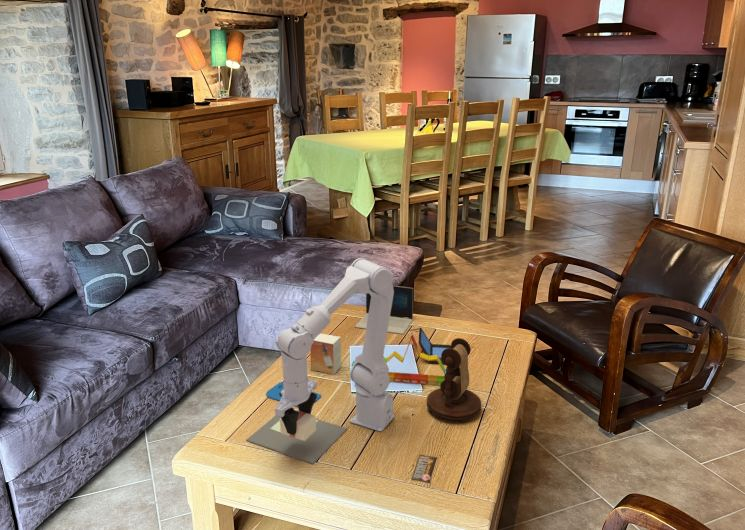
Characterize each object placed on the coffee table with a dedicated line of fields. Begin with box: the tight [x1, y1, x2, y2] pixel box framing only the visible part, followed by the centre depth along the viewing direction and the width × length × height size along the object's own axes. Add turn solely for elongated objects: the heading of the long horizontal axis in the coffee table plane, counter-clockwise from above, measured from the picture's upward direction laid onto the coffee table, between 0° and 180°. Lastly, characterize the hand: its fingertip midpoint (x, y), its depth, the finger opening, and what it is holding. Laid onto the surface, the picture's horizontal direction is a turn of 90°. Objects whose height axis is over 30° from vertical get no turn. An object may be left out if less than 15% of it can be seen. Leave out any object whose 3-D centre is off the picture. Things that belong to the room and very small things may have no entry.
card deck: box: [280, 408, 317, 441], centre depth 148 cm, size 7×5×4 cm
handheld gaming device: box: [265, 381, 322, 409], centre depth 174 cm, size 8×1×15 cm
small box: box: [309, 332, 342, 375], centre depth 187 cm, size 8×6×10 cm
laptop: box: [354, 285, 414, 335], centre depth 217 cm, size 18×12×13 cm
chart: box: [351, 333, 447, 387], centre depth 179 cm, size 30×3×15 cm, turn 81°
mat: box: [245, 415, 348, 465], centre depth 156 cm, size 20×16×1 cm
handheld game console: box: [418, 327, 451, 365], centre depth 196 cm, size 12×11×7 cm
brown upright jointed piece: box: [426, 337, 482, 424], centre depth 164 cm, size 15×15×20 cm
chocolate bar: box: [410, 454, 438, 484], centre depth 143 cm, size 11×5×1 cm, turn 164°
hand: (298, 427), depth 148 cm, fingers closed on card deck, 5 cm apart
